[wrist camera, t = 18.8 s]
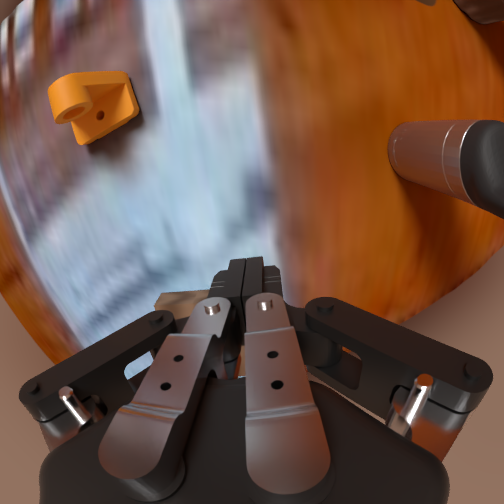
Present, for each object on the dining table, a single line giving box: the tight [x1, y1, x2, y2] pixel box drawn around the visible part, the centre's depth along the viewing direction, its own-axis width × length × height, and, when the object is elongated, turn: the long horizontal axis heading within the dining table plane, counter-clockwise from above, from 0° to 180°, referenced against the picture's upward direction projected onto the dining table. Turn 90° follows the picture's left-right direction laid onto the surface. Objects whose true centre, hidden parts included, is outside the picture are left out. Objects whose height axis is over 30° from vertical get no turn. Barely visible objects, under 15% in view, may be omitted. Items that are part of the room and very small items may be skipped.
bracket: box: [48, 71, 139, 145], centre depth 29 cm, size 11×7×12 cm, turn 109°
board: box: [154, 290, 246, 376], centre depth 46 cm, size 18×16×4 cm
